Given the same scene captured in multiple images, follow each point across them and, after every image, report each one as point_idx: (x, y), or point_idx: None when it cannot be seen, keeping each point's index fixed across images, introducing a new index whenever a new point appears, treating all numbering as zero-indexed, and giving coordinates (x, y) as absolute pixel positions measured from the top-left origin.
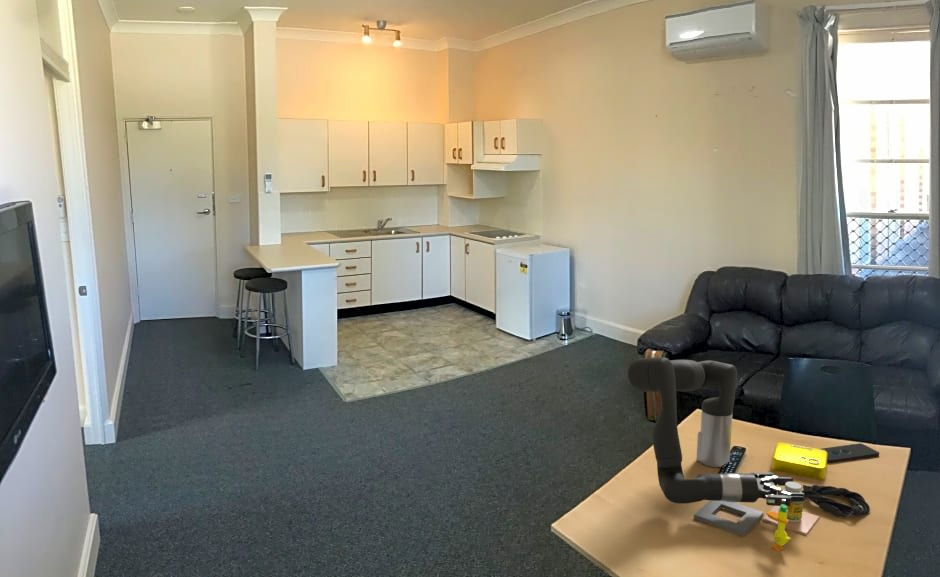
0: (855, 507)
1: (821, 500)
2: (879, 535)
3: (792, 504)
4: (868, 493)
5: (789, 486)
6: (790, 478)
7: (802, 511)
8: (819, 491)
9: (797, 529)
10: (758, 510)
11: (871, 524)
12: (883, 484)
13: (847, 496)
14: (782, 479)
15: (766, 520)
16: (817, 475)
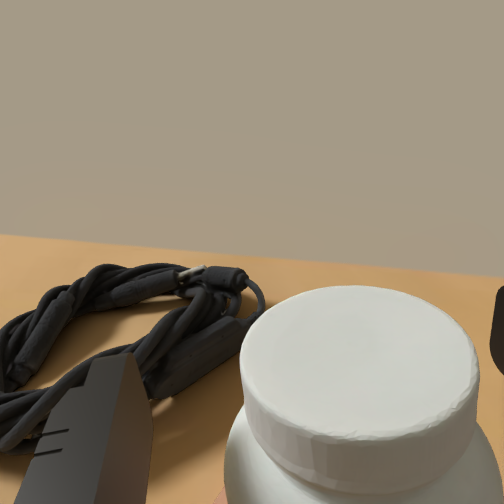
0: (227, 268)
1: (157, 358)
2: (350, 270)
3: None
4: (63, 273)
5: (442, 388)
6: (123, 366)
7: (224, 497)
8: (5, 378)
9: None
10: None
11: (275, 279)
12: (23, 250)
13: (85, 303)
14: (110, 478)
15: None
16: None
